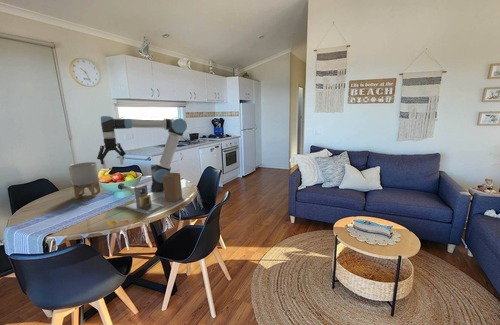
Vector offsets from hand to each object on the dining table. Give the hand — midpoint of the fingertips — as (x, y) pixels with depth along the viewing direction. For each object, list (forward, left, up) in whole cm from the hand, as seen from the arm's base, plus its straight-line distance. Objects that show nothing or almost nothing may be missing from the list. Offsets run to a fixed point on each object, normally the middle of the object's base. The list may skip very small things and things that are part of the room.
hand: (113, 166), depth 178 cm
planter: (-16, -34, -28) cm, 47 cm away
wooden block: (-3, +41, -28) cm, 50 cm away
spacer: (+12, +26, -26) cm, 39 cm away
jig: (+12, +25, -28) cm, 39 cm away
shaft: (+5, +13, -18) cm, 23 cm away
